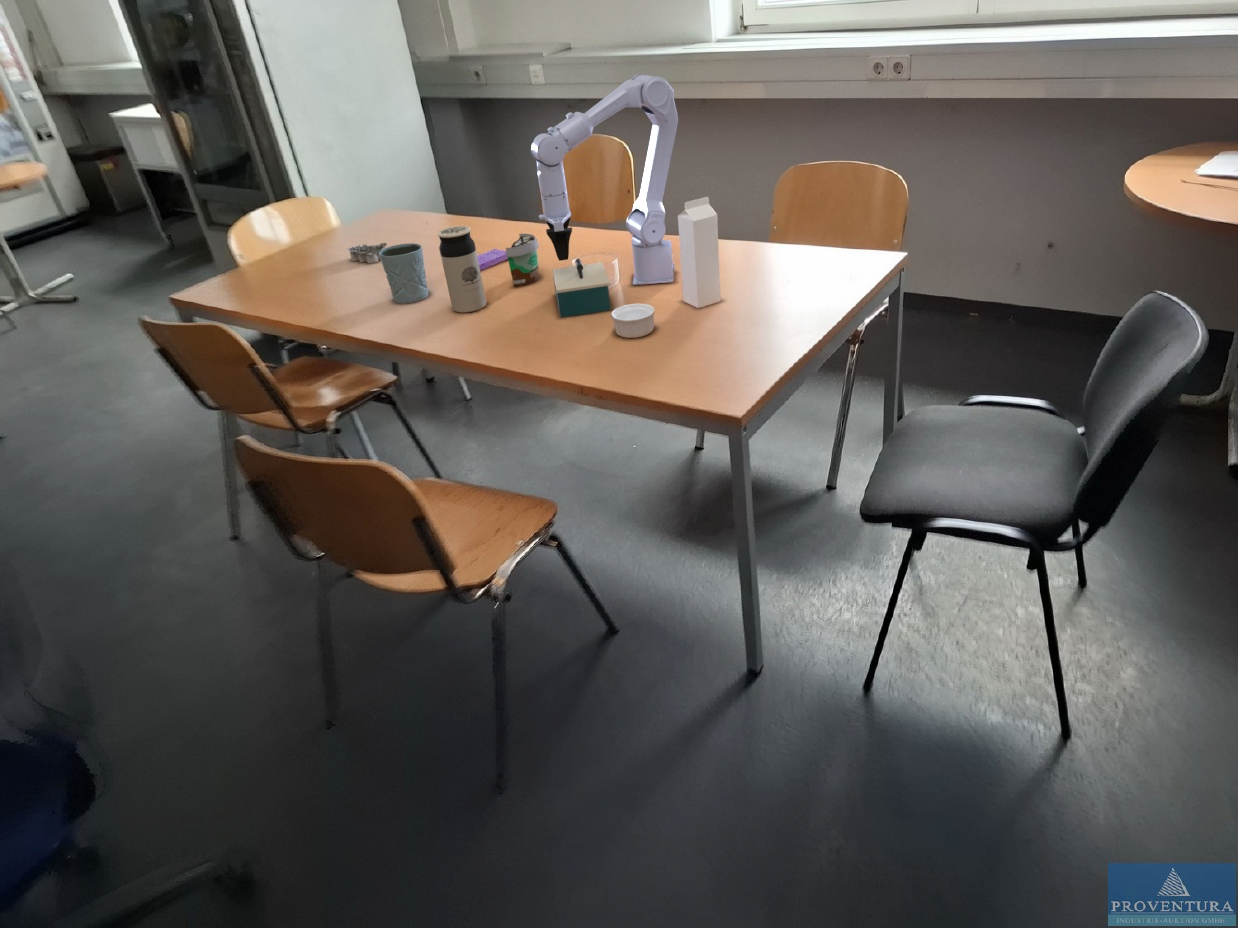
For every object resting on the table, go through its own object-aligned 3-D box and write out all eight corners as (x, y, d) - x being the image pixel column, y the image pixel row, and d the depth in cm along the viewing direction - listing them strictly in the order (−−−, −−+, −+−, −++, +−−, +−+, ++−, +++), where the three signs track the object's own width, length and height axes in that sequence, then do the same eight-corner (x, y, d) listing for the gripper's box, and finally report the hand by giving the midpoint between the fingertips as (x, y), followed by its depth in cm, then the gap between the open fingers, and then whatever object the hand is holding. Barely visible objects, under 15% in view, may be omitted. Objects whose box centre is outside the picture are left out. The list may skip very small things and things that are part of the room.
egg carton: (391, 257, 234) (388, 243, 232) (370, 265, 229) (366, 251, 227) (369, 252, 240) (365, 238, 238) (347, 260, 235) (344, 246, 233)
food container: (536, 288, 198) (529, 247, 193) (512, 289, 199) (505, 248, 194) (549, 271, 208) (543, 231, 203) (526, 271, 210) (519, 233, 204)
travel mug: (449, 306, 194) (432, 230, 184) (481, 298, 196) (466, 223, 187) (457, 316, 187) (440, 238, 178) (490, 308, 190) (475, 230, 180)
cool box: (602, 288, 193) (600, 265, 190) (610, 310, 181) (607, 286, 178) (556, 295, 192) (552, 272, 189) (560, 317, 180) (557, 293, 177)
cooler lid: (602, 265, 190) (600, 248, 188) (610, 285, 178) (608, 268, 176) (552, 272, 189) (550, 255, 187) (557, 293, 177) (554, 276, 175)
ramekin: (623, 343, 165) (621, 323, 162) (606, 329, 172) (604, 310, 169) (663, 332, 167) (661, 312, 165) (644, 319, 174) (643, 299, 172)
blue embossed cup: (383, 304, 200) (370, 256, 194) (405, 289, 208) (394, 242, 202) (418, 305, 196) (406, 256, 190) (440, 290, 204) (429, 242, 198)
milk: (720, 301, 178) (717, 199, 167) (697, 309, 176) (693, 205, 164) (704, 294, 183) (700, 194, 171) (682, 301, 181) (676, 200, 169)
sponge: (512, 258, 220) (511, 251, 219) (475, 272, 213) (473, 266, 212) (496, 254, 225) (494, 248, 224) (459, 268, 218) (457, 261, 217)
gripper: (535, 188, 184) (544, 247, 191) (536, 204, 171) (545, 267, 178) (566, 183, 184) (574, 243, 191) (569, 199, 172) (578, 262, 179)
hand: (562, 254), depth 185 cm, fingers open, 7 cm apart
